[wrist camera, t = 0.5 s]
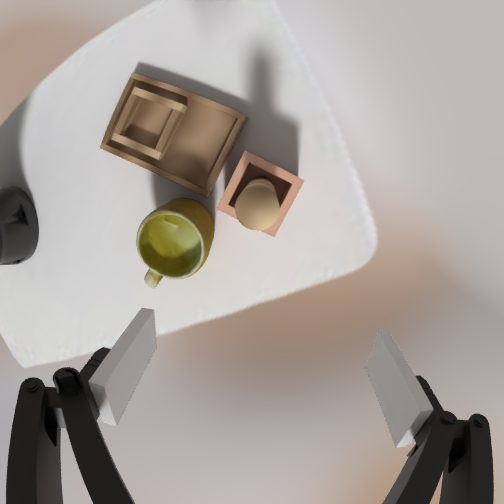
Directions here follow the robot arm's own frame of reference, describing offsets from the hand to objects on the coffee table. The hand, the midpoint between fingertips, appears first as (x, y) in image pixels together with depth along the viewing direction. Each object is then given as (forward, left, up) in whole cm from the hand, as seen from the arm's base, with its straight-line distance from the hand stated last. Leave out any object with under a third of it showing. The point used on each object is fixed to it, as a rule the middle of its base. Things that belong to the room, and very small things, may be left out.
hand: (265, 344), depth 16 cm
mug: (-11, -7, -27) cm, 30 cm away
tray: (-18, +7, -27) cm, 33 cm away
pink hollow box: (-3, +5, -27) cm, 28 cm away
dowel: (-3, +5, -26) cm, 27 cm away
